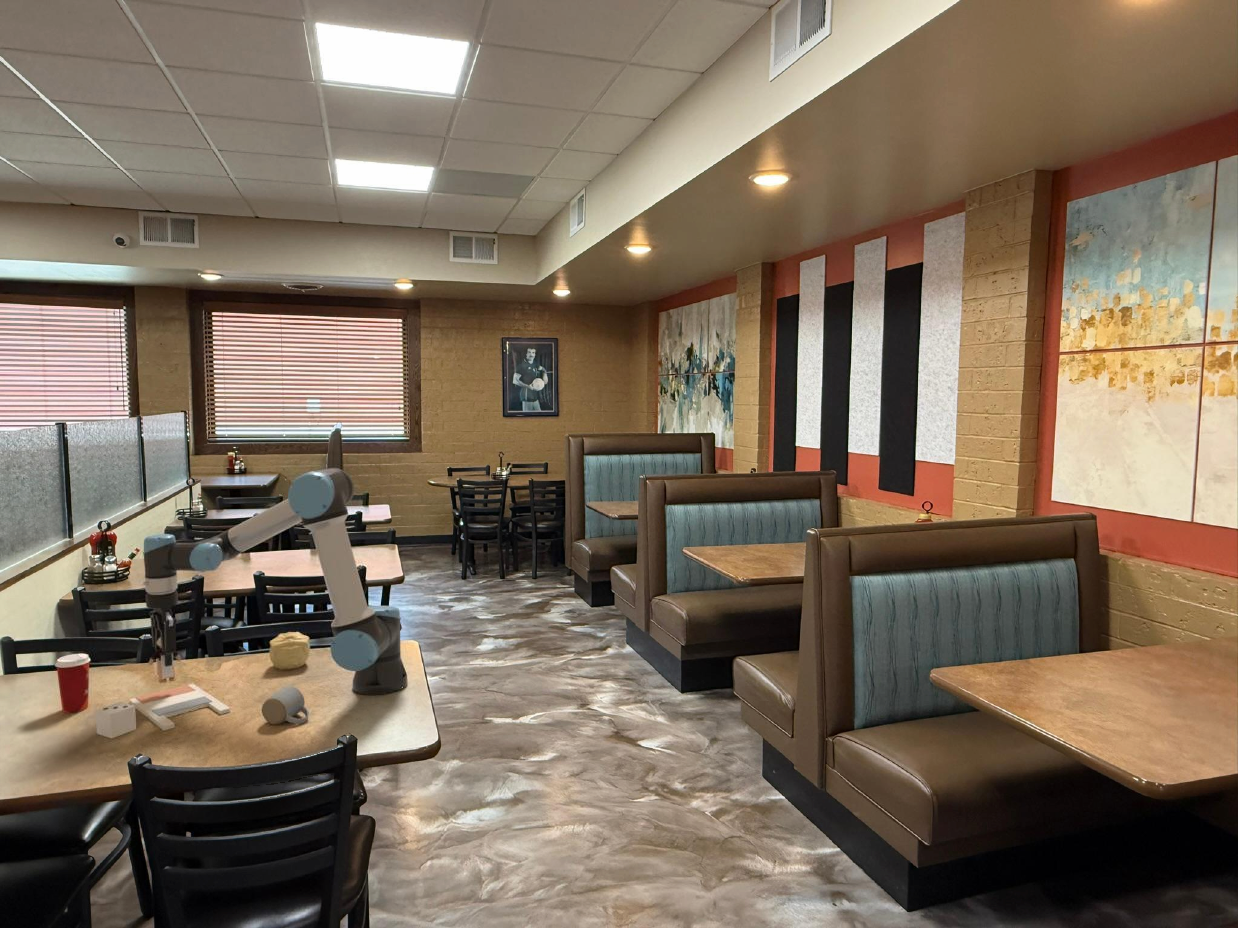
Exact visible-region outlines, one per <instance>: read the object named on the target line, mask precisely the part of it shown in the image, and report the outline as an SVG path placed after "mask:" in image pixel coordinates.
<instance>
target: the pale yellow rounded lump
mask: <svg viewBox="0 0 1238 928" xmlns="http://www.w3.org/2000/svg"><path fill="white" fill-rule="evenodd" d="M309 642H310V637H309V636H307V635H306V634H305V635H304V634H303V633H300V632H299V631H296V632H294V631H292V632H291V631H288V632H286V633H279V634H278V635H277V636H276V637H275V638H273V639H272V640H270V641H269V644H270V645H269V646H270V647H269V659H270V661H271V663H272V665H273V666H274V667H275V668H277V669H279V670H293V669H298V668H301V667H302V666H303V665H305V664H306V662H307V661H308V659H309V656H310V651H311V646H310V643H309Z"/></svg>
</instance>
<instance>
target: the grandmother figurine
mask: <svg viewBox="0 0 1238 928" xmlns="http://www.w3.org/2000/svg"><path fill="white" fill-rule="evenodd" d="M157 645H158V646H159V647H160V648H162V645H161V637H160V638H159V639H158V641H157ZM160 653H162V649H160V650H158V651H156V650H155V651H154V652H153V653H152V655H151V656H150V658H149V661H148V665H149V666H151V665H153V663H154V661H156V659H158V658H159V660H158V673H159V675H158V678H159V679H158V683H160V684H165V683H167V682H175V681H176V680H177V679H178V677H177V676H176V669H175V664H174V661H173V671H174V676H172V677H167V678H162V668H161V656H160V655H159V654H160ZM173 657H175V659H176V661H178V662H180V661H182V658H181V656H180V654H179V652H178V651H177V650H176V652H175V653H173ZM167 679H168V680H167Z"/></svg>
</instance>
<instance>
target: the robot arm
mask: <svg viewBox="0 0 1238 928" xmlns="http://www.w3.org/2000/svg"><path fill="white" fill-rule="evenodd" d="M354 494H355V483H354V481H353V479H352V476H350V475H349V474H348V472H346V471H344V470H342V469H340V468H335V467H329V468H324V469H319V470H312V471H308V472H306V473H303V474H301V475H300V476H297V477H296V478H295V479H294V480H293V482H292V483H291V485H290V487H289V490H288V494H287V495H288V496H287V499H284V500H282V501H281V502H279V503H277V504H275V505H273V506H271V507H269V508H268V509H265V510H264V511H261V512H260V513H258V514H256V515H253V516H252V517H250V518H249V519H246V520H244V521H241V523H239V524H236V525H235V526H233V527H231V528H229V529H228V530H226V531H223V532H222V533H220V534H218V535H215V536H212V537H210V538H206V539H202V540H199V541H197V542H177V540H176V536H175V535H173V534H170V533H163V534H162V533H160V534H159V533H158V534H153V535H152V534H151V535H148V536H146V537H145V538H144V539H143V552H142V554H143V563H144V581H143V583H142V585H143V586H145V592H146V594H145V606H146V608H148V609H152V610H153V611H149V613H148V614H149V618H150V626H151V627H150V629H151V640H152V641H151V642H152V644H151V646H152V647H153V648H154V650H155V652H156V651H158V650H160V649H162V653H160V654H159V655H160V656H161V668H162V678H166V679H168V678H167V677H172V676H174V671H173V662H174V656H173V653H175V652H176V651H177V642H176V641H177V635H176V634H177V631H176V630H177V629H176V626H177V618H176V617H174V614H173V613H174V612H173V611H172V607H175V606H176V605H177V604H178V603H179V598H178V591H177V589H178V587H179V586H178V573H177V571H182V572H183V571H186V572H201V573H203V572H213V571H215V570H217V569H218V568H219V566H221V563H223V562H225V561H230V560H233V559H235V558H236V557H239V555H240V554H242V553H244V552H245V551H247V550H249V549H251V548H253V547H255V546H257V545H259V544H261V543H263V542H265V541H266V540H268V539H271V538H273V537H274V536H276V535H278V534H280V533H282V532H284V531H286V530H288V529H290V528H292V527H294V526H296V525H297V524H299V523H301V522H302V525H303V527H304V528H305V529H307V530H309V531H310V532H311V534H312V535H311V536H312V539H313V542H314V546H315V549H316V553H317V557H318V561H319V564H320V567H321V571H322V574H323V578H324V582H325V585H326V589H327V592H328V596H329V599H330V603H331V607H332V610H333V611H332V612H333V615H334V619H333V621H332V622H331V625H330V626H331V630H332V633H333V640H331V641H332V642H331V644H330V655H331V657H332V659H333V661H334V663H335V664H336V665H338V667H340V668H343V669H344V670H345V671H346V670H347V671H350V672H354V675H353V678H352V690H353V691H354V692H355V693H358V694H361V695H367V694H372V695H371V696H374V695H375V694H378V695H385V694H384V693H386V694H390V693H394V692H393V691H395V692H397V691H396V690H398V691H400V690H402V689H403V688H402V687H404V686H405V685H406V684H407V685H408V674H407V670H406V669H405V665H404V663H403V660H402V657H401V652H402V651H401V613H400V612H401V611H400V609H399V608H398V607H396V606H391V605H370V606H368V603H367V599H366V596H365V592H364V589H363V586H362V582H361V578H360V574H359V571H358V567H357V563H356V560H355V556H354V552H353V548H352V545H351V541H350V537H349V534H348V530H347V527H346V526H347V525H346V523H345V522H346V520H347V517H348V516H349V512H348V507H347V506H348V504H349V503H350V502H351V501H352V499H353V497H354ZM160 637H161V645H162V648H160V647H159V646H158V645H157V641H158V639H159V638H160ZM158 660H159V658H158V659H156V660H155V662H156V664H155V665H156V675H157V676H159V673H158ZM407 685H406V686H407ZM406 686H405V687H406ZM405 687H404V688H405ZM401 688H402V689H401ZM399 689H400V690H399ZM373 694H374V695H373Z"/></svg>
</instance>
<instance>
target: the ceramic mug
mask: <svg viewBox="0 0 1238 928" xmlns="http://www.w3.org/2000/svg"><path fill="white" fill-rule="evenodd" d="M261 713H262V717H263V719H265V721H267V723H269V724H271V725H279V724H280V725H281V724H283V723H285V722H289V723H291V724H296V725H300V724H304V723H306V722H307V721H308V718H309V716H310V713H309V710H308V709H307V708H306V707H305V698H304V695H303V693H302V692H301V691H300V690H299V688H297V687H295V686H292V685H286V686H284V687H282V688H281V689H279V690H278V691H276V692H275V693H274V694H272V695H271V696H269V697H268V698H266V700H265V701H264V703H263V704H262V706H261ZM299 713H303V714H304V716H305V717H303V718H296V717H294V716H296V715H298V714H299Z"/></svg>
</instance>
